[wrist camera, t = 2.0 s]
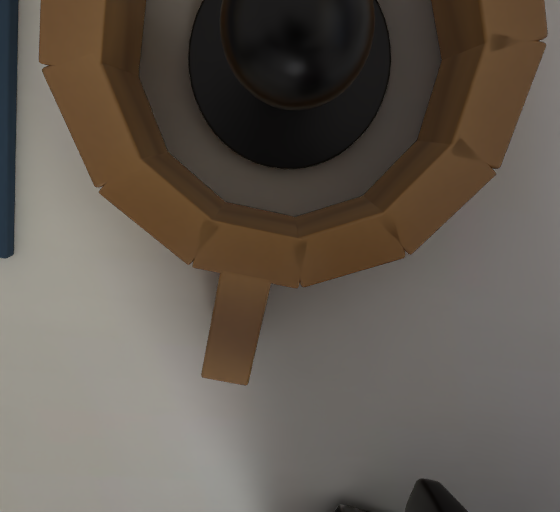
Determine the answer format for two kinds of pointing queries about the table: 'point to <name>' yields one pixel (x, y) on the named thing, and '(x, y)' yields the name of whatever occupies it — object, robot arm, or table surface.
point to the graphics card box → (347, 509)
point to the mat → (8, 122)
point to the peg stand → (289, 75)
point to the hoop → (269, 225)
